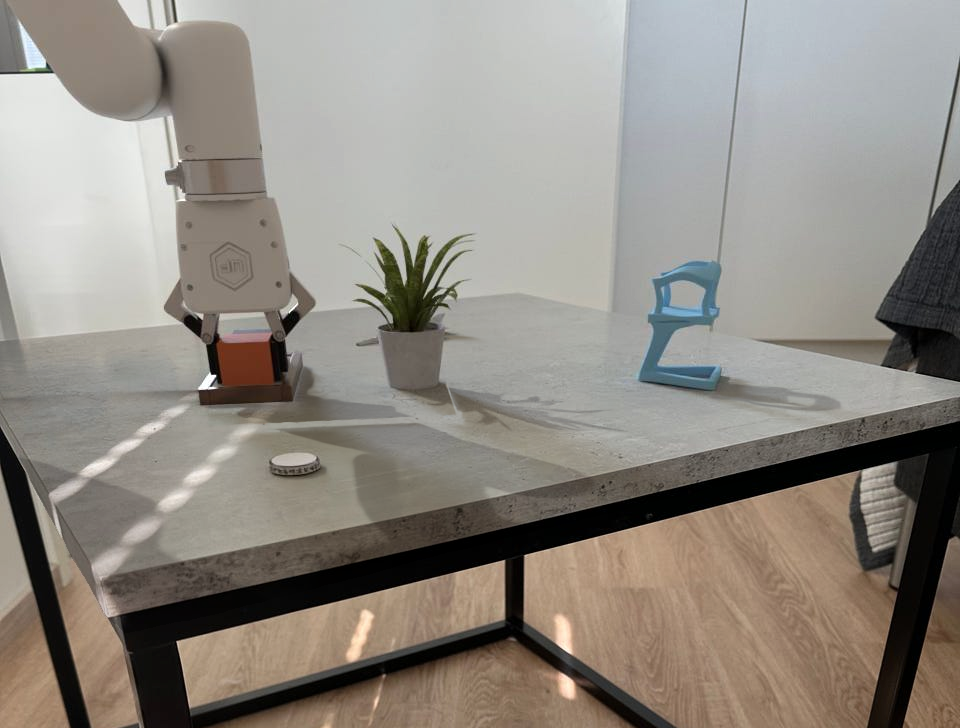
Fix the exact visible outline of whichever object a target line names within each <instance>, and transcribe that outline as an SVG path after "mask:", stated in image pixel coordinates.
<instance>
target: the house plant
mask: <svg viewBox="0 0 960 728" xmlns="http://www.w3.org/2000/svg"><path fill="white" fill-rule="evenodd" d="M393 223H394V224H393ZM393 223H392V222H391V226H392V228H394V231H395V232H396V235H398V237H399V239H400V242H401V246H402V253H403V257H404V265H405V275H406V280H405V283H404V280H403V276H402V273H401V269H400V267H399V264H398V260H397V259H396V256H395V254H394V253H393V252H392V251H391V250H390V249H389V248H388V247H387V246H386V244H384V243H383V241H382V240H380V239H378V238H375V237H374V236H373V237H372V239H373V241H374V243H375V245H376V247H377V249H378V252H379V254H380V256H381V258H380V257H379V256H378V254H377V253H376V252H375V251H373V254H374V256H375V258H376V260H377V264H378V265H379V268H380V269H381V271H382V272H383V274H384V280H383V279H382V278H381V276H380V275H379V274H378V272H377V271H376V270H375V268H372V270H373V271H374V273H376V275H377V276H378V278H379V279H380V280H381V282H382V283H383V285H384V289H385V290H386V292H385V293H383V292H381V291H380V290H378V289H376V288H373V287H372V286H369V285H365V284H361V283H354V285H355V286H356V287H358V288H361V289H363V291H365V292H366V294H369V295H370V296H372V297H374V299H377V300H378V301H379V302H380V303H381V305H382V306H383V307H384V308H385V309H386V310H387V312H389V313H390V315H391V316H392V322H390V321H389V319H388V317H387V315H386V314H385V312H384V311H383V310H382V308H380V307H379V306H378V305H376V304H375V303H373V302H372V301H370V300H368V299H366V298H355V299H353V300H351V301H350V302H349V303H350V304H351V303H352V302H357V303H361V304H362V303H363V304H366V305H368V306H371V307H372V308H374V309H376V310H377V311H378V312H379V313H380V314H381V315H382V317H383V318H384V319H385V321H386V323H383V324H380V325H377V326H376V328H375V329H376V330H375V331H376V336H377V335H378V340H379V342H378V343H379V344H378V345H379V349H380V353H381V358H382V362H383V368H384V371H385V376H386V380H387V385H388V387H390V388H392V389H396V390H407V391H408V390H410V391H411V390H412V391H413V390H415V391H416V390H426V389H430V388H434V387H436V386H438V385H439V382H440V373H441V367H442V366H441V364H442V359H443V358H442V357H443V350H444V341H445V334H444V333H446V329H445V328H446V325H444V324H443V323H441V324H440V323H436V322H429V321H430V319H432V318H433V317H434V315H435V313H436V311H437V310H438V308H439V307H443V308H447V309H448V310H449V311H452V309H451V308H450V306H449V304H447V303H445V302H443V301H444V300H445V299H446V298H447V296H450V297H451V298H452V299H454V300H455V302H457V298H458V293H457V291H456V290H457V289H456V287H457V286H458V285H459V284H461V283H463V282H467V281H470V280H472V278H469V279H462V280H458V281H456V282H454V283H453V284H452V285H450V286H449V287H443V286H439V285H440V283H441V281H442V279H443V278H444V276H445V274H446V272H447V271H448V269H449V268H450V266H451V265H452V264H453V262H455V261H456V260H457V259H458V257H460V256H461V255H462V254H464V253H467V252H468V253H469V252H472V251H473V249H465V250H462V251H459V252H457V253H456V254H454V255H453V256H452V257H451V258H450V259H449V260H448V261H447V262H446V264H445V265H444V267H443V268H442V270H441V272H440V274H439V275H438V278H437V280H436V282H435V284H434V286H433V287H432V288H431V289H430V290H429V291H428V288H429V286H430V284H431V282H432V280H433V278H434V276H435V274H436V272H437V270H438V268H439V267H440V265H441V263H442V262H443V260H444V258H445V256H446V255H447V253H448V252H449V251H450V250H451V249H452V248H453V247H455V246H457V245H460V244H462V243H468V242H469V243H470V242H476V240H474V239H473V240H471V239H470V240H468V239H467V240H463V241H459V240H461V239H463V238H466V237H468V236H473V235H474V233H467V234H461V235H458V236H456V237H453V238H452V239H450V240H449V241H447V242H446V243H445V244H444V245H443V246H442V248H440V250H438V252H437V254H436V255H435V257H434V258H433V260H432V262H431V264H430V267H429V269H428V271H427V274H426V276H425V277H424V274H425V269H426V263H427V259H428V256H429V251H431V250H429V248H431V247H432V245H433V242H431V243H430V244H428V240H429V238H430V237H431V235H428V236H427V235H425V234H424V235H423V236H422V237H420V240H419V241H418V244H417V250H416V254H415V258H414V263H413V259H412V253H411V250H410V247H409V244H408V242H407V240H406V239H405V237H404V235H403V234H402V233H401V231H400V230H399V228H398V225H396V223H395V222H393ZM476 234H478V232H477V233H475V235H476ZM458 241H459V242H458ZM339 245H340V246H342V247H346V248H347V249H350V251H352V252H353V253H355V254H356V255H358V256H359V257H361V255H360V254H359V253H358V252H357V251H355V250H354V249H352V248H350V247H348V246H346V245H345V244H340V243H339ZM381 259H382V260H381ZM366 263H367V264H368V265H369V267H372V265H371V264H370V263H368V261H366ZM444 289H445V291H444V292H443V293H441V294H437V293H438V292H439V291H441V290H444ZM427 291H428V292H427ZM426 292H427V293H426ZM436 294H437V295H436Z"/></svg>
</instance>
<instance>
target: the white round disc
mask: <svg viewBox="0 0 960 728" xmlns="http://www.w3.org/2000/svg"><path fill="white" fill-rule="evenodd" d="M268 467H269V468H268V470H269V471H270V472H271V473H273V474H277V475H281V476H285V475H286V476H294V475H296V476H297V475H304V474H308V473H312V472H315V471H316V470H319V468H320V467H321V458H320V456H319V455H317V454H315V453H309V452H289V453H288V452H287V453H283V454H279V455H275V456H273V457H271V458H269V460H268Z"/></svg>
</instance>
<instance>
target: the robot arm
mask: <svg viewBox="0 0 960 728" xmlns="http://www.w3.org/2000/svg"><path fill="white" fill-rule="evenodd" d="M5 1H6V3H7V5H8V6H9V8H10V9H11V11H12V13H13V15H14V16H15V17H16V19H17V20H18V21H19V23H20V25H21V26H22V28H23V29H24V31H25V32H26V34H27V35H28V36H29V38H30V39H31V41H32V42H33V44H34V45H35V47H36V48H37V50H38V52H39V53H40V54H41V56H42V57H43V59H44V60H45V62H46V63H47V64H48V66H49V68H50V70H51V71H52V72H53V73H54V75H55V77H57V79H58V81H59V82H60V83H61V85H62V86H63V87H64V89H65V90H66V91H67V92H68V94H70V96H71V97H72V98H73V99H74V100H75V101H76V102H78V103H79V104H80V105H81V106H82V107H83V108H85V109H87V110H88V111H89V112H91V113H93V114H95V115H98V116H101V117H102V118H103V117H104V118H109V119H111V120H112V119H113V120H117V121H123V122H133V123H135V122H144V121H149V120H154V119H155V120H156V119H159V118H165V117H172V124H173V130H174V136H175V137H174V138H175V142H176V143H175V144H176V151H177V157H178V160H179V161H177V165H176V166H175V167H172V168H170V169H167V168H166V169H164V179H165V184H166V185H167V186H175V187H177V188H179V189H180V190H181V192H182V194H184V198H181V199H178V200H176V201H175V235H176V248H177V249H176V250H177V261H178V268H179V279H178V281H177V283H176V284H175V285H174V288H173V289H172V290H171V293H170V295H168V298H167V300H166V302H165V303H164V304H163V310H164V312H165V313H166V314H168V315H169V316H171V317H172V318H173V319H175V320H177V321H178V322H180V323H182V324H183V325H184V326H185V327H186V328H187V329H188V330H190V331H191V332H192V333H193V334H194V335H195V336H197V337H198V339H200V340H201V342H202V343H203V344H205V348H206V355H207V362H208V368H209V373H210V374H211V375H216V377H217V378H216V383H217V384H218V385H221V384H222V378H221V371H220V365H219V358H218V351H217V345H216V344H217V342H218V341H219V340H220V338H221V336H220V333H219V332H218V331H219V325H220V324H219V323H220V316H221V315H223V314H247V313H249V314H250V313H263V314H264V317H265V319H266V322H267V324H268V327H269V329H271V332H272V334H271V342H270V349H271V357H272V366H273V374H274V382H282V379H283V376H284V373H286V372H288V366H289V360H288V356H287V353H288V352H287V344H286V343H287V342H286V338H287V337H288V335H289V334H291V332H292V331H293V330H294V328H295V327H296V326H297V324H299V322H300V321H301V320H303V318H305V317H306V316H307V315H308V314H309V313H310V312H311V311H312V310H313V309H314V308H315V307H316V304H317V298H315V296H314V294H312V293H311V292H310V291H309V290H308V289H307V287H306V286H305V285H304V284H303V283H302V281H301V280H300V279H299V278H298V277H297V276H296V275H295V274H294V273H293V271H292V270H291V267H290V261H289V255H288V249H287V243H286V237H285V233H284V229H283V224H282V223H283V222H282V220H281V216H280V212H279V208H278V205H277V202H276V199H275V197H274V196H268V189H267V181H266V173H265V164H264V158H263V156H264V155H263V147H262V146H263V145H262V139H261V130H260V121H259V112H258V102H257V95H256V87H255V77H254V69H253V60H252V53H251V46H250V42H249V39H248V36H247V34H246V33H245V31H244V30H243V28H241V27H240V26H239V25H237V24H234V23H231V22H226V21H219V20H203V19H202V20H201V19H199V20H198V19H197V20H184V21H177V22H173V23H170V24H169V25H167V26H166V27H165V28H164V29H157V28H155V29H154V28H147V27H140V26H137V25H134V24H133V21H131V19H130V17H129V16H128V15H127V13H126V12H125V9H124V8H123V7H122V5H121V3H120V2H119V0H5ZM292 296H294V297H295V298H296V300H297V304H296V305H294V307H293V308H292V309H291V310H289V311H288V313H287V314H286V315H285V316H283V314H282V312H281V310H283V309H285V308H286V307H287V306H288V305H289V304H290V303H291V299H292V298H293V297H292ZM197 314H201V315H202V318H201V317H200V316H199V315H197Z"/></svg>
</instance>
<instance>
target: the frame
mask: <svg viewBox="0 0 960 728" xmlns="http://www.w3.org/2000/svg"><path fill="white" fill-rule="evenodd" d="M287 357H290V360H289V362H288V372H285V375H284V378H283V380H282V383H280V384H279V383H278V384H275V383H274V384H255V385H230V386H213V384H214V383H215V381H217V377H216V375H211V374H210V372H209V373H208V375H207V376H205V379H204V380H203V382H202V383H201V385H200V386H199V387H198V389H197V393H198V399H199V400H198V401H199V406H201V407H202V406H224V405H247V404H250V405H251V404H271V403H293V402H294V400H295V396H296V392H297V389H298V385H299V382H300V379H301V375H302V372H303V368H304V362H303V352H300V351H299V352H287Z"/></svg>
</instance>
